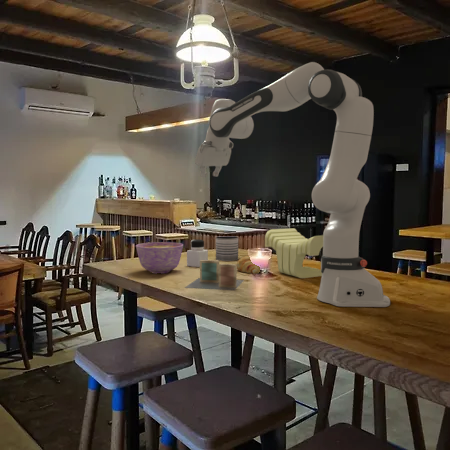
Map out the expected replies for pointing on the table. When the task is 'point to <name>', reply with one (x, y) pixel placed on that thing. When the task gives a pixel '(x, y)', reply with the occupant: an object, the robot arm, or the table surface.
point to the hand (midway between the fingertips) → (209, 176)
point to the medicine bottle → (196, 253)
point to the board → (211, 285)
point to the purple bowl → (159, 256)
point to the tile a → (209, 271)
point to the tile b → (227, 275)
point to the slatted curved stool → (294, 251)
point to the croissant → (247, 266)
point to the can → (227, 248)
